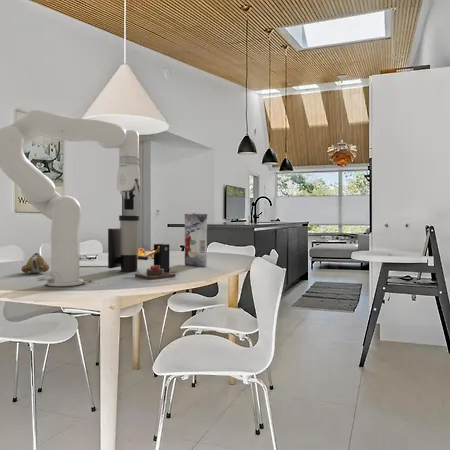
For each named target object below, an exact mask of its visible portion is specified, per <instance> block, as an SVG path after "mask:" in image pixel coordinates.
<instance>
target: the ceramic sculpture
mask: <svg viewBox="0 0 450 450" xmlns="http://www.w3.org/2000/svg"><path fill="white" fill-rule="evenodd" d="M49 269H50V266H49V264H48V262H47V261H46V259H45V258H44V257H43V256H42V255H41V254H40V253H37V252H35V253H34V254H32V255H31V257H29V259H28V260H27V262H26V264H24V265H22V266H21V272H22V273H24V274H27V273H29V272H30V273H31V274H40V273H41V272H43V273H46V272H49Z"/></svg>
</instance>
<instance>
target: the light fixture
mask: <svg viewBox="0 0 450 450" xmlns="http://www.w3.org/2000/svg"><path fill="white" fill-rule="evenodd" d="M118 221H119V227H114V228H107V268H108V269H114V268H119V267H120V270H119V272H120V273H139V272H140V270H139V269H138V256H139V221H140V215H131V214H130V215H129V214H128V215H118Z"/></svg>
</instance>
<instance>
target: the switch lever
mask: <svg viewBox="0 0 450 450" xmlns="http://www.w3.org/2000/svg"><path fill="white" fill-rule="evenodd" d="M157 252H160V246H158V247H157V249H156V250H154V249H153V250H152V251H150V252H149V253H146V254H145V255H137V260H141V261H148V260H149V257H151V256H154V254H155V253H157Z"/></svg>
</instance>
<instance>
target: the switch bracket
mask: <svg viewBox="0 0 450 450" xmlns="http://www.w3.org/2000/svg"><path fill="white" fill-rule="evenodd" d="M158 246H160V252H157V253H155V254H153V265H160V268H162V269H164V272H168V273H174V274H176V271H175V270H170V244H169V243H154V244H153V251H154V250H156V249H157V247H158ZM145 273H147V271H145Z"/></svg>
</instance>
